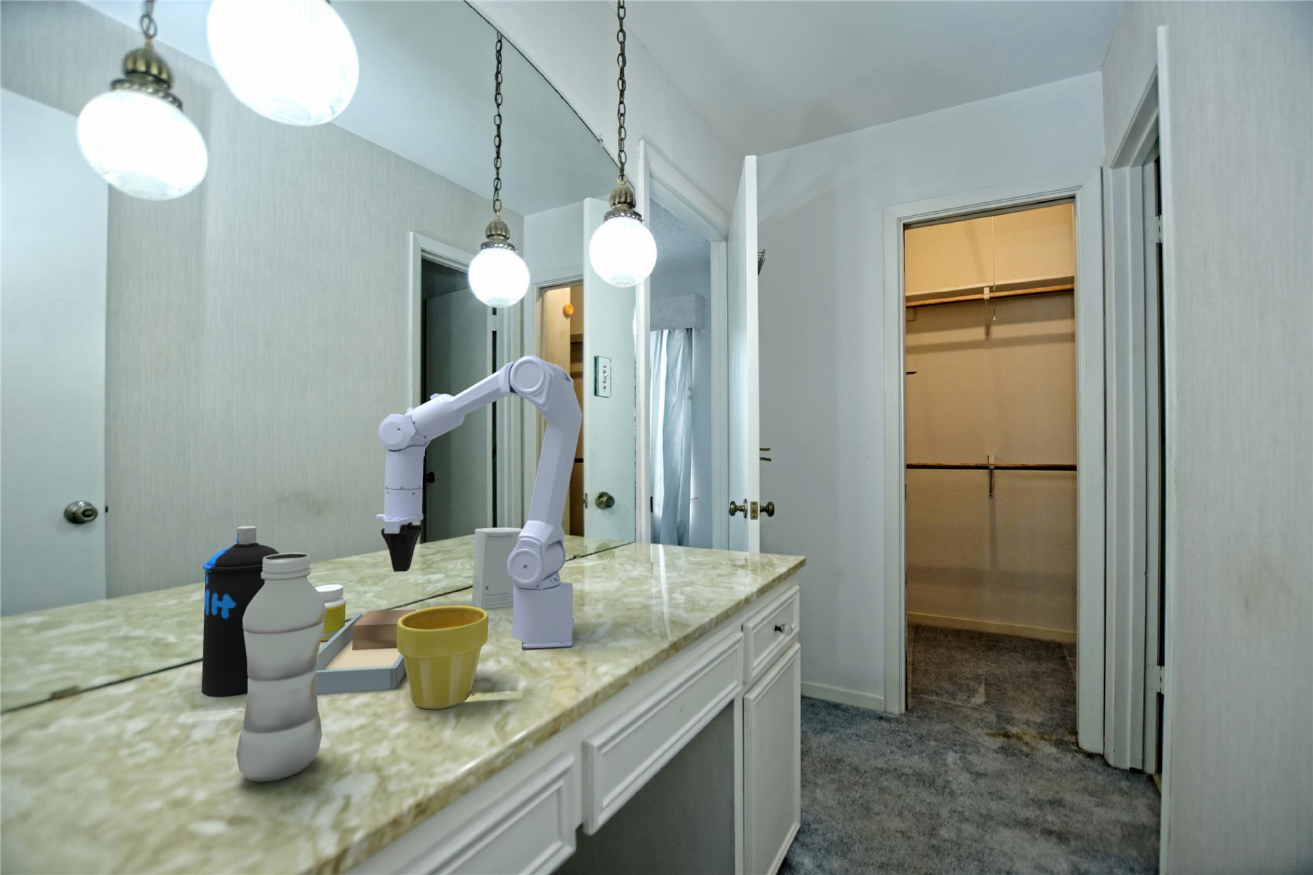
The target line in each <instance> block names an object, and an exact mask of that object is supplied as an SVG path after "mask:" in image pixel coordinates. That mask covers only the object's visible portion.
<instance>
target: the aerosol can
mask: <svg viewBox="0 0 1313 875" xmlns="http://www.w3.org/2000/svg"><path fill="white" fill-rule="evenodd" d="M236 532H237V534H236V536H237V537H236V539H235V541H236V543H234V544H232V546H229V547H227V548H224V549H222V550H220V551H218V552H217V551H216V553H215V554H214V555H213V556H211V557H210V558H209V560H208V561H206V562H204V563H203V564H202V569H203V570H205V571H204V572H205V573H204V576H205V577H204V602H203V605H204V607H203V631H202V632H203V635H202V636H203V639H202V641H203V642H202V666H201V667H202V668H201V670H202V672H201V693H202V694H203V695H204V696H206V697H210V698H211V697H212V698H227V697H235V696H242V695H247V694H248V678H249V676H248V668H247V653H246V645H245V638H244V629H243V616H244V613H245V611H246V608H247V606H248V605H249V603H250V602H251V600H252V599H253V598H254V596H255V595H256V594H257V593H258V591H259V590H260V589H261V588H262V587H263V585H264V584H265V580H264V579H262V578H261V573H262V572H263V558H264V557H266V556H269V555H275V554H281V553H280V552H279V551H277V549H275V548H274V547H271V546H268V545H264V544H259V542H257V526H255V525H245V526H244V525H243V526H238V527H237V528H236Z"/></svg>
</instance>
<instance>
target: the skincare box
mask: <svg viewBox="0 0 1313 875" xmlns="http://www.w3.org/2000/svg"><path fill="white" fill-rule="evenodd" d="M522 529H523V528H519V527H483V528H476V529H474V548H473V549H474V550H473V555H474V556H473V570H472V571H473V573H472V576H473V577H472V594H471V595H472V596H471V604H472V605H473V606H474V607H476V608H480V609H483V610H485V611H488V610H493V609H494V610H495V609H500V608H507V607H513V586H514V582H513V581H512V579H511V578H510V576H509V574H508V571H507V560H508V557H509V555H510V553H511V552H512V551H513V550H514V548H515V547H516V544H517V540H518V536H519V534H520V532H521V531H522Z"/></svg>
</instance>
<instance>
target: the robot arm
mask: <svg viewBox="0 0 1313 875" xmlns="http://www.w3.org/2000/svg"><path fill="white" fill-rule="evenodd" d="M574 381H575V380H574V379H573V378H572V377H571V376H570V374H568V373H567V371H566V370H565V369H564V368H563V367H562V366H560V365H559V364H556V363H551V362H548V361H547V360H546V361H545V360H543V359H542V358H540V357H538V356H535V355H525V356H522V357H520V358H519V359H518V360H516V362H515V361H511V362H508V363H506V364H505V365H503V367H502V368H500V369H499V370H497V371H495V372H494V373H492V374H491V375H489V376H487V377H485V378H484V379H482V380H479V382H476V383H475V384H473V385H472V386H470V387H468V388H467V389H465V390H462V392H460V393H457V394H456V395H454V396H453V395H451V394H447V393H443V394H441V393H434V394H432V395H430V400H429V401H427V402H424V403H422V404H421V405H419V406H417V407H412V406H411V407H410V408H409V407H408V409H406V413H405V414H399V413H391V414H388V416H387V417H386V418H384V419H383V420H382V421H381V422H380V424H379V427H378V430H377V431H378V432H377V433H378V436H377V437H378V439H379V442H380V444H381V445H382V446H383V447H384V448H385V465H384V470H385V471H384V474H385V475H384V501H383V503H384V506H383V513H379V514H376V516H375V520H376V521H379V520H381V521H383V522H384V527H383V528H382V529H381V530H380V533H381V534H380V535H381V536H382V538H383V540H384V541H385V544H386V546H387V548H388V552H389V557H390V562H391V567H392V570H393V572H394V573H404V572H408V571H409V570H410V568H411V565H412V561H413V557H414V554H415V553H414V552H415V549H416V545H417V541H418V539H419V538H420V535H421V533H422V531H423V529H424V525H423V524H413V523H414V522H419V521H422V520H423V519H424V514H423V484H424V483H423V479H424V477H423V476H424V457H425V456H426V454H425V451H426V448H427V447H428V446H429V444H430V443H431V441H432V440H434V439H437V437H440V436H442V435H444V434H446V433H448V432H450V431H451V430H454V429H456V428H457V427H460V426H461V425H463V423H464V421H465V417H466V415H467V414H470V413H471V412H474V411H476V410H478V409H480V408H482V407H486V406H487V405H490V404H492V403H494V402H496V401H499V400H501V399H502V398H505V397H508V396H512V397H521V398H524V399H525V400H526V401H528V402H529V403H531V404H532V405H534V407H535V408H536V409H537V411H538V413H540V415H541V417H543V418H544V420H545V421H546V424H545V429H544V430H545V431H544V436H543V439H542V445H541V450H540V455H539V461H538V466H537V470H536V477H535V481H534V485H533V491H532V496H531V502H530V505H529V506H530V507H529V512H528V515H527V516H528V517H527V521H526V523H525V524H524V526H523V527H522V528H521V529H522V531H521V532H520V534H519V536H518V540H517V544H516V547H515V548H514V550H513V551H512V552H511V553H510V555H509V557H508V560H507V571H508V574H509V576H510V578H511V579H512V581H513V582H514V586H513V606H512V627H511V628H512V630H511V631H512V632H511V633H512V635H511V636H512V638H513V639H514V640H517V641H519V642H521V649H522V650H523V649H524V650H525V649H539V648H540V649H544V648H561V647H562V648H563V647H564V648H565V647H572V646H573V630H574V628H575V620H574V616H573V615H574V613H573V612H574V589H573V588H574V587H573V583H572V582H564V581H563V582H562V581H561V576H560V570H562V568H563V567H564V565H565V562H566V559H567V552H566V548H565V545H564V544H565V542H564V541H565V537H566V536H565V535H566V533H565V531H564V528H563V526H562V522H563V517H564V513H565V506H566V503H567V502H566V501H567V496H568V492H569V487H570V482H571V476H572V471H573V467H574V463H575V456H576V451H577V447H578V441H579V436H580V432H581V427H582V423H583V422H582V421H583V412H582V409H581V406H580V403H579V400H578V397H577V394H576V391H575V388H574V387H575V382H574Z"/></svg>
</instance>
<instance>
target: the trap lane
mask: <svg viewBox="0 0 1313 875" xmlns="http://www.w3.org/2000/svg"><path fill="white" fill-rule="evenodd" d="M362 616H363V613H362V612H358V613H356V614H355V615H354V616H353V617H352V618H351V619H350V620H349V621H348V622H347V623H345V626H344V627H343V628H342V629H341V630H339V631H338V632H337V633H336V634H335V635H334V636H333V637H332V638H331V639H330V640H329V641H328V642H325V644H324V645H322V646H320V647H319V655H318V664H317V666H316V667H317V676H316V684H317V695H325V694H342V693H357V692H360V693H361V692H373V691H376V692H377V691H391V690H397V688H398V686H399V684H400V682H401V681H402V680H403V678H404V675H405V674H407V672H406V667H405V663H404V658H403V655H402V654H400V653H399V652H398V650H397V648H389V649H368V650H352V639H353V625H354V624H355V623H356V622H357V621H358V620H359V619H360V618H361V617H362Z"/></svg>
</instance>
